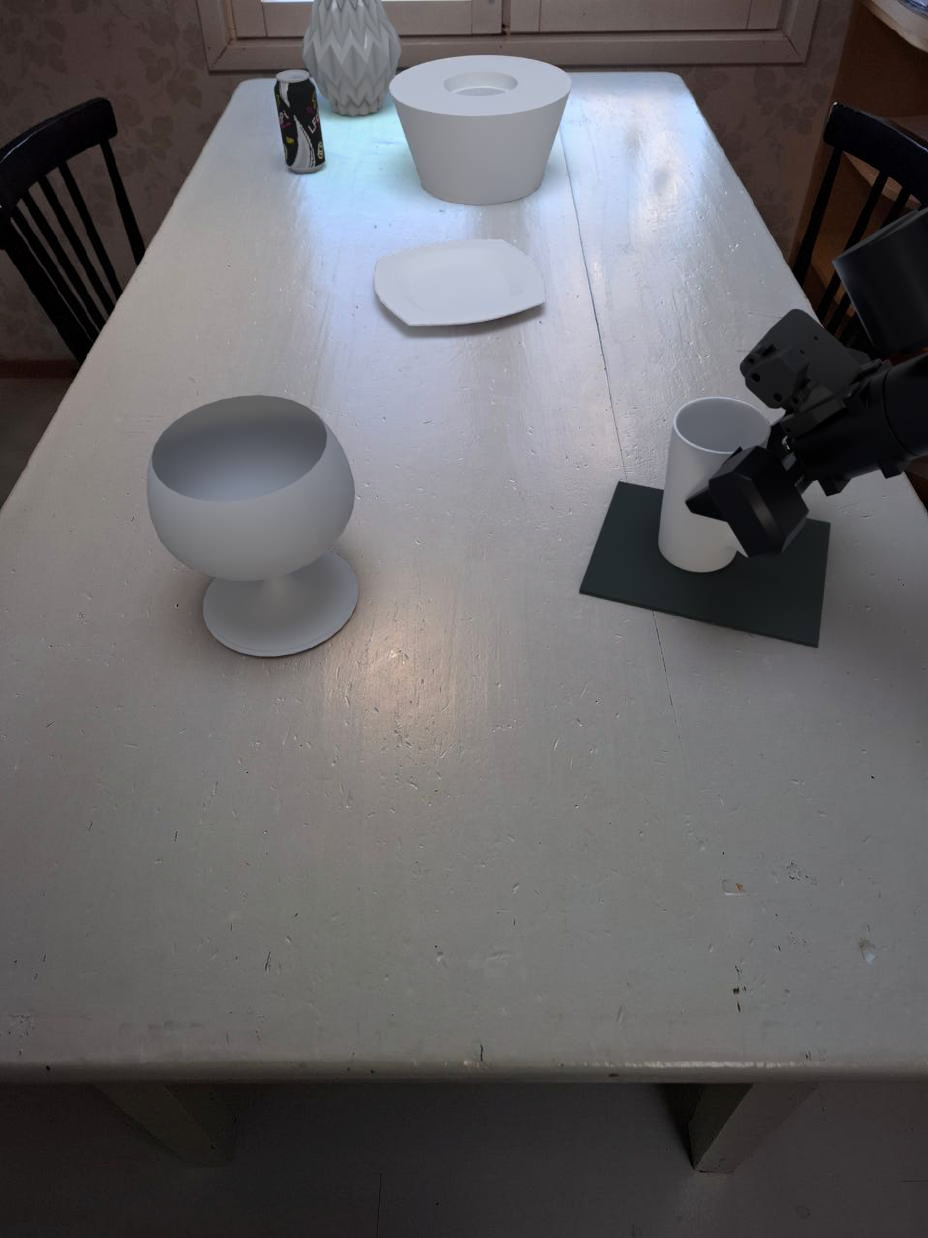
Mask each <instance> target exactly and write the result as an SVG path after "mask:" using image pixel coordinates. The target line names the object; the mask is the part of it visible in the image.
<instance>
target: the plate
mask: <svg viewBox="0 0 928 1238" xmlns="http://www.w3.org/2000/svg"><path fill="white" fill-rule="evenodd" d="M373 288H374V291H375V294H376V296H377V297H378V299H379V300H380V302H381V303H382V304H383V305H384V306H385V308H386V309H388V311H390V313H392V314H393V315H395V317H397V318H398V319H399V320H400V321H401V322H403V323H404V324H406V325H407V326H408V327H430V326H431V327H432V326H456V325H457V326H458V325H467V324H477V323H483V322H488V321H492V320H496V319H497V320H498V319H500V318H504V317H508V316H511V315H514V314H518V313H521V312H523V311H526V310H529V309H532V308H535V307H537V306H540V305H542V304H545V303H546V301H547V293H546V292H547V291H546V283H545V279H544V276H543V272H542V271H541V269H540V267H539V265H538V264H536V262H535V261H533V259H532V258H530V257H529V256H528V255H527V254H526V253H525V252H523V251H521V250H520V249H519V248H517V247H516V246H514V245H512V244H511V243H509V242H507V241H506V240H504V239H502V238H496V239H495V238H484V239H483V238H482V239H458V240H457V239H456V240H447V241H438V242H431V243H427V244H423V245H418V246H414V247H411V248H406V249H403V250H400V251H397V252H394V253H390V254H387V255H383V256H382V257H378V258H376V261H375V265H374V272H373Z"/></svg>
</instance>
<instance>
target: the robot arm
mask: <svg viewBox="0 0 928 1238" xmlns="http://www.w3.org/2000/svg"><path fill="white" fill-rule="evenodd" d="M831 262H832V264H833V266H834V269H835V271H836V273H837V275H838V277H839V280H840V281H841V283H842V285H843V287H844V289H845V291H846V293H847V295H848V297H849V300H850V302H851V304H852V306H853V309H854V310H855V312H856V314H857V316H858V318H859V320H860V322H861V324H862V326H863V328H864V331H865V332H866V335H867V337H868V339H869V341H870V343H871V345H872V347H873V348H874V349H878V351H879V354H880V355H881V356H887V355H889V354H893V353H895V352H898V354H899V356H906V355H910V354H913V353H916V352H919V351H920V350H922V349H925V348H928V206H926V207H925V208H923V209H921V210H920V211H918V209H917V208H915V209H913V210H912V211H910V212H908V213H906V214H905V215H903V216H901V217H900V218H898V219H896V220H894V221H892V222H890V223H889V224H887V225H886V226H883V227H882V228H881V229H879V230H877V231H875V232H874V233H871V234H870V235H869V236H867V237H865V238H864V239H862V240H861V241H859V242H857V243H856V244H854V245H853V246H851V247H849V248H848V249H846V250H845V251H843V252H841V253H840V254H839V255H837V256H836V257H834V258H833V259H832V260H831ZM739 371H740V374H741V375H742V377H743V378H744V386H745V387H746V388H747V389H748V390H749V392H751V393H752V394H753V395H754V396H755V397H756V398H758V399H759V400H760V401H761V402H762V403H763V404H764V405H765V406H766V407H767V408H768V409H771V410H778V409H782V410H783V411H784V414H783V415H782V416H780V417H779V418H778V419H776V420H775V421H774V422H773V423H770V426H771V432H770V436H769V438H768V443H767V447H766V448H763V447H761V446H758V445H756V446H753V447H750V448H748V449H745V450H742V448H741V446H740V447H739V448H738V449H737V450H736V451H735V452H734V453H733V454H732V455H731V456H730V457H729V458H728V459H727V460H726V461H725V462H724V463H723V464H722V465H721V467H720V469H719V470H718V471H717V472H716V473H715V474H714V475H713V476H712V477H711V478H710V479H709V485H708V486H707V487H705V488H703V489H702V490H700V491H698V492H697V493H695V494H694V495H692V496H691V497H689V498H688V499H687V500H686V501H685V504H686V506H687V507H688V509H689V511H690V512H691V513H693V514H697V515H701V516H704V517H708V518H712V519H716V520H720V521H724V522H727V523H728V525H729V526H730V528H731V530H732V531H733V533H734V535H735V536H736V538H737V540H738V541H739V543H740V544H741V546H742V548H743V549H744V551H745V553H746V554H747V556H748V558H751V559H755V560H759V559H763V558H767V557H771V556H775V555H779V554H781V553H782V552H783V551H784V549H785V548H786V547H787V546H788V545H789V543H790V542H791V541H792V540H793V538H794V537H795V536H796V535H797V534H798V532H799V531H800V530H801V529H802V527H803V526H804V524H805V521H806V519H807V518H808V516H809V512H810V509H809V506H807V504H806V502H805V500H804V498H803V497H802V496H803V495H804V493H805V492H806V491H807V490H808V489H809V487H811V485H812V484H813V483H814V482H816V481H817V482H818V484H819V486H820V488H821V489H822V491H823V493H824V495H825V496H826V497H827V498H828V497H831V496H835V495H838V494H841V493H842V492H843V490H844V489H845V488H846V487H847V485H848V484H849V483H850V482H851V481H852V479H854V478H857V477H861V476H864V475H867V474H870V473H874V472H876V471H881V473H882V476H883V477H884V479H885V480H888V479H891V478H894V477H898V476H902V474H903V473H904V471H905V470H906V469H907V468H908V466H909V465H910V464H911V462H912V461H913V460H914V459H917V458H921V457H924V456H927V455H928V351H927V352H924V353H922V354H919V355H917V356H914V357H912V358H910V359H907V360H905V361H902V362H900V363H898V364H896V365H892V363H891V361H890V359H889V358H888V359H886V360H881V358H875V359H873V360H871V358H870V357H869V354H868V353H866V352H863V351H860V350H857V349H854V348H851V347H849V348H846V347H845V346H844V345H843V344H842V343H841V342H840V341H839V340H838V339H837V338H836V337H835V336H834V335H832V334H831V333H830V332H829V331H828V330H827V329H826V328H825V327H824V326H822V324H820V323H819V322H818V321H817V320H816V319H815V318H814V317H812V315H810V314H809V313H808V312H806V311H805V310H803V309H801V308H792V309H790V310H789V311H788V312H787V313H786V314H785V315H783V316H782V318H780V319H779V320H778V321H777V322H775V324H774V325H772V326H771V327H770V329H769V330H768V331H767V332H766V333H765V334H764V336H762V337H761V338H760V340H759V341H758V342H757V343H756V344H755V346H754V347H752V349H751V350H750V351H749V353H748V354H747V355H746V356H745V357H744V358H743V359H742V361H740V363H739Z"/></svg>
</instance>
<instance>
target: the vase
mask: <svg viewBox="0 0 928 1238" xmlns="http://www.w3.org/2000/svg"><path fill="white" fill-rule="evenodd" d="M402 49H403V42H402V40H401V38H400V36H399V34H398V32H397V31H396V29H395V27H394V26H393V25H392V23H391V21H390V18H389V16H388V13H387V11H386V8H385V6H384V4H383V1H382V0H313V2H312V5H311V10H310V14H309V20H308V25H307V28H306V30H305V34H304V35H303V38H302V42H301V45H300V48H299V54H300V55H301V57H302V60H303V62H304V64H305V67H306V68H307V71H308V73H309V75H310V76H312V79H313V80H314V81H313V82H314V84H315V86H316V87H317V89H318V91H319V93H320V95H321V97H323V98H324V99H326V100H327V102H328V103H329V105H330V108H331V110H332V113H337V114H338V113H339V114H340V115H341V116H348V115H349V116H351V117H356V116H358V115H360V116H366V115H369V114H375V113H378V111H379V110H382V109H383V108H384V104H385V98H386V97H387V95H388V94H389V93H390V90H389V86H390V82H391V81H392V80H393V79H394V77H395V76H396V72H397V69H398V67H399V64H400V60H401V57H402V54H403V51H402Z"/></svg>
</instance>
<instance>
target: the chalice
mask: <svg viewBox="0 0 928 1238" xmlns="http://www.w3.org/2000/svg"><path fill="white" fill-rule="evenodd" d="M149 457H150V458H149V461H148V465H147V469H146V471H147V472H146V497H147V506H148V511H149V516H150V520H151V523H152V525H153V527H154V530H155V532H156V533H155V534H157V537H158V539H159V541H160V543H161V544H162V545H163V546H164V548H165V549H166V550H167V551H168V552H169V553H170V554H171V555H172V556H173V557H174V558H175V559H176V560H178V561H179V562H181V563H182V564H183V565H185V567H188V568H189V569H191V570H193V571H196V572H199V573H201V574H203V575H206V576H209V577H212V578H213V580H211V581H212V582H211V583H210V585H209V586H208V588H207V589H206V592H205V595H204V598H203V602H202V615H203V619H204V623H205V626H206V628H207V629H208V630H209V632H210V634H211V635H212V636H213V637H214V638H215V639H216V640H217V641H218V642H219V643H221V644H222V645H223V646H225V647H226V648H229V649H231V650H233V651H236V652H238V653H241V654H246V655H250V656H255V657H280V656H287V655H294V654H296V653H301V652H302V651H306V650H309V649H311V648H313V647H315V646H317V645H319V644H321V643H323V642H324V641H327V640H328V639H330V638H331V637H332V636H333V635H335V634H336V633H337V632H338V631H340V629H342V628H343V626H344V625H345V624H346V623H347V622H348V620H349V619H350V618H351V617H352V614H353V612H354V610H355V608H356V606H357V603H358V598H359V593H360V591H359V584H358V578H357V576H356V574H355V572H354V570H353V568H352V567H351V565H349V563H348V562H347V561H346V560H345V559H344V558H343V557H341V556H340V555H338V554H336V553H335V552H334V551H332V550H330V548H331V547H333V545H334V544H335V543H336V542H337V540H338V539H339V538H340V537H341V536H342V535H343V534H344V532H345V530H346V528H347V525H348V524H349V522H350V519H351V517H352V514H353V510H354V507H355V498H356V488H355V480H354V476H353V472H352V469H351V466H350V462H349V459H348V457H347V454H346V452H345V450H344V448H343V446H342V444H341V442H340V440H339V439H338V438H337V436H336V434H335V433H334V432H333V430H332V428H330V426H329V424H327V422H325V420H324V419H323V418H322V417H321V416H320V415H319V414H317V413H316V412H315V411H313V410H312V409H311V408H310V407H308V406H307V405H304V404H302V403H300V402H297V401H295V400H293V399H289V398H285V397H282V396H281V397H280V396H275V395H262V394H254V395H239V396H233V397H227V398H221V399H218V400H215V401H212V402H209V403H205V404H204V405H201V406H199V407H197V408H195V409H192V410H190V411H188V412H186V413H185V414H184V415H182V416H180V417H179V418H177V419H176V420H174V421H173V422H172V423H171V424H170V425H169V426H167V428H166V429H164V431H162V433H161V435H160V436H159V437H158V439H157V440H156V442H155V443H154V446H153V449H152V452H151V454H150V456H149Z"/></svg>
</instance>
